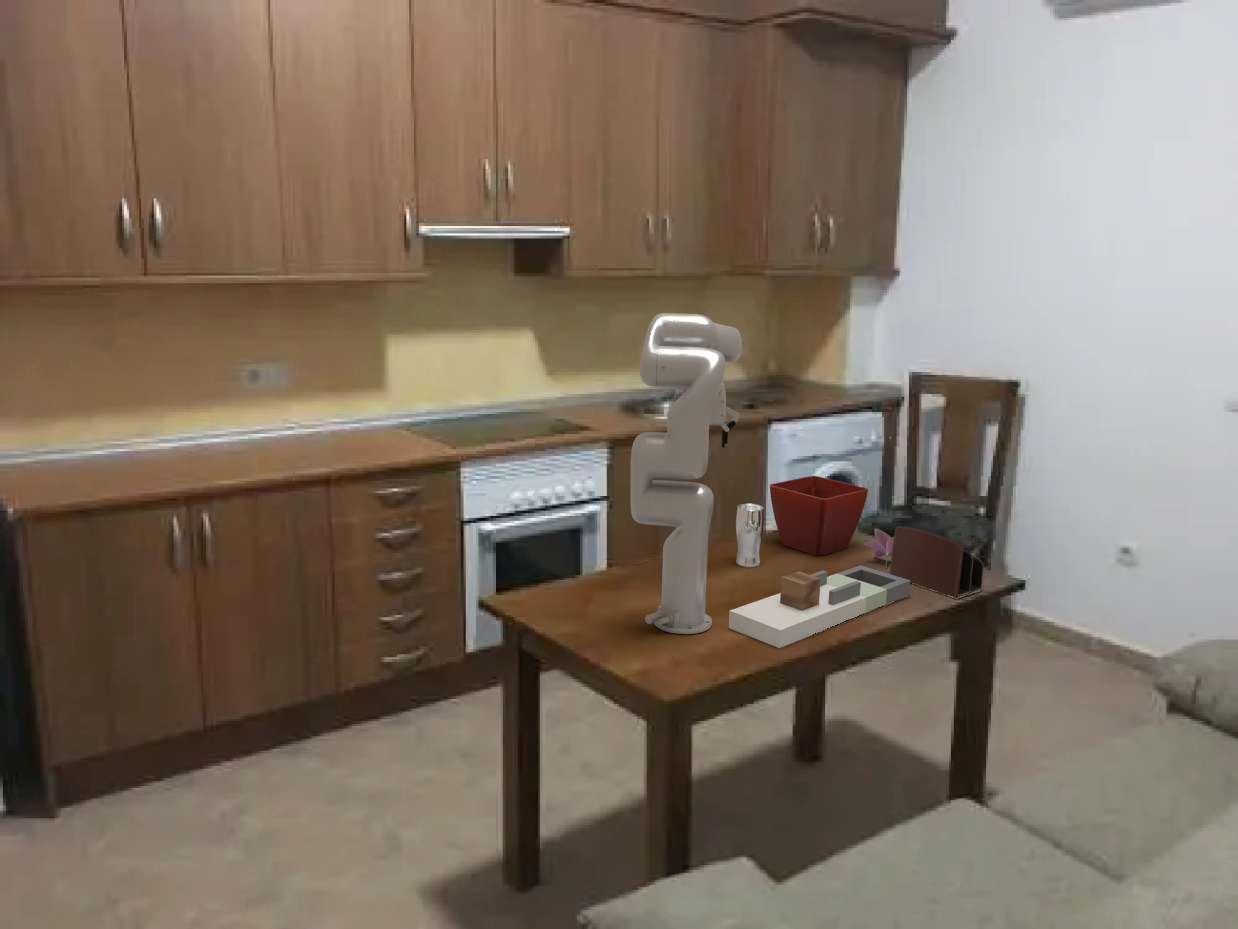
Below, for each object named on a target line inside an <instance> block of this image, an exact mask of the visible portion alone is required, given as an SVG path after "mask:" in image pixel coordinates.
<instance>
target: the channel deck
mask: <svg viewBox="0 0 1238 929" xmlns="http://www.w3.org/2000/svg"><path fill="white" fill-rule="evenodd" d="M810 575H811V576H815V577H818V578H821V582H820V597H819V605H816V606H814V607H811V608H808V609H805V610H803V611H801V610H798V609H795V608H792V607H790V606H787V605H784V604H781V603H780V594H781V592H780V593H776V594H774V595H771V596H768V597H765V598H762V599H759V600H757V601H753V602H750V603H747V604H745V605H742V606H739V607H737V608H733V609H730V610H729V612H728V613H729V615H728V629H730V630H732V631H735V632H737V633H739V634H743V635H745V636H747V637H749V638H752V639H755V640H758V641H760V642H762V643H765V644H768V645H770V646H773V647H776V648H778V649H781V648H783V647H784V648H785V647H786V646H789V645H792V644H793V643H796V642H798V641H802V640H804V639H806V638H808V637H811V636H813V634H814V635H816V634H819V633H821V632H824V631H826V630H828V629H827V628H829V629H831V628H830V627H832V626H834V627H836V626H835V625H837V624H839V625H841V624H840V623H842V622H844V621H846V620H848V619H852V618H854V617H857V616H859V615H861V614H863V613H867V612H869V611H871V610H873V609H875V608H877V607H881V606H883V605H885V604H887V603H890V602H892V601H896V600H899V599H901V598H903V597H905V596H908V595H909V596H910V592H911V591H910V589H911V583H910V580H907V579H904V578H901V577H897V576H894V575H891V574H890V573H887V572H883V571H880V570H877V569H874V568H871V567H867V566H864V565H857V566H855V567H852V568H849V569H846V570H843V571H841V572H837V573H834V574H832V575H829V576H828V571H826V570H820V571H817V572H815V573H812V574H810ZM899 601H900V600H899ZM869 613H870V612H869ZM867 614H868V613H867ZM859 617H860V616H859ZM857 618H858V617H857ZM854 619H855V618H854ZM852 620H853V619H852ZM844 623H845V622H844ZM842 624H843V623H842ZM837 626H838V625H837ZM832 628H833V627H832ZM825 629H826V630H825ZM823 630H824V631H823ZM818 632H819V633H818ZM815 633H816V634H815Z"/></svg>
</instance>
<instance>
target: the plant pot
mask: <svg viewBox="0 0 1238 929" xmlns="http://www.w3.org/2000/svg"><path fill="white" fill-rule="evenodd" d="M769 492H770V500H771V506H772V512H773V517H774V521H775V525H776V529H777V532H778V534H779V538H780V541H781V543H782V546H786V547H789V548H793V549H795V550H798V551H801V552H805V553H808V554H810V555H814V556H823V555H826V554H829V553H834V552H837V551H841V550H844V549H847V548H848V546H849V545H850V543H851V540H852V538H853V536H854V534H855V532H856V529H857V527H858V524H859V522H860V519H861V516H862V514H863V511H864V508H865V504H866V501H867V497H868V493H869V488H867V487H863V486H859V485H855V484H852V483H849V482H843V481H841V480H840V481H839V480H835V479H831V478H827V477H822V476H818V475H809V476H804V477H799V478H795V479H789V480H784V481H780V482H776V483H775V482H774V483H771V484H769Z"/></svg>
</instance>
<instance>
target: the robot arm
mask: <svg viewBox="0 0 1238 929" xmlns="http://www.w3.org/2000/svg"><path fill="white" fill-rule="evenodd" d="M742 349H743V340H742V336H741V332H740V331H739V329H738V328H736V327H733V326H728V325H724V324H721V323H716V322H714V321H713V320H712V319H711V318H710V317H708V316H705V315H703V314H699V313H676V312H673V313H671V312H661V313H658V314H656V315H655V316H654V317H653V318H652V319H651V321H650V323H649V325H648V328H647V331H646V334H645V337H644V343H643V347H642V351H641V357H640V360H639V375H640V378H641V380H642V382H643V383H644V384H645V385H646V386H649V387H652V388H653V387H655V388H671V389H675V388H676V389H686V390H685V392H684V393H682V394H681V395H680V396H679V397H678V398H677V399H676V400H675V401H674V402H673V403H672V405H671V406H670V407H669V410H668V412H667V430H666V431H667V432H657V431H655V432H653V431H647V432H646V431H645V432H641V433H639V434H638V435H637V436H636V437H635V439H634V441H633V443H632V447H631V453H630V513H631V517H632V519H633V520H634V521H635V522H636V523H638V524H641V525H642V524H643V525H650V526H663V527H664V526H665V527H666V526H667V527H673V528H675V529H674V530H673V531H672V532H671V533H670V534H669V535H668V537H667V538H666V539H665V540H664V544H663V547H662V548H663V549H662V571H661V572H662V573H661V576H662V577H661V578H662V579H661V601H660V602H661V603H660V604H659V605H657V610H656V611H655V613H650V614H646V615H645V617H644V619H645V620H644V621H645V622H646V624H648V625H651V624H654V626H656V627H657V628H658V629H660V631H663V632H666V633H671V634H679V635H693V634H701V633H703V632H706V631H707V630H709V629H710V628H711V627H712V626H713V624H712V623H713V620H712V617H711V616H710V615H709V614H707V613H706V595H707V572H708V571H707V570H708V546H709V535H710V534H709V533H710V528H711V521H712V517H713V512H714V503H715V498H714V493H713V491H712V490H711V489H710V487H709V486H707V485H706V484H703V483H699V482H695V481H681V480H696V479H700V478H702V477H703V476H704V475H705V474H706V472H707V469H708V463H709V461H708V460H709V441H710V439H709V438H710V437H709V436H710V426H711V425H713V426H720V427H721V428H722V431H721V448H723V449H724V448H725V447H726V446H725V445H727V444H728V441H729V440H728V436H729V431H730V430H731V429H733V428H734V427H735V426H736V424H737V422H738V421H739V419H740V417H741V414H740V412H737V411H736V410H734V409H732V408H730V407H729V406H727V398H726V397H727V394H726V386H725V384H724V378H725V374H726V363H736V362H737V361H738V360H739V358H740V357H741V353H742ZM727 414H729V415H730V416H732V419H731V420H730V421H729V422H728V423H727V422H726V417H727V416H726V415H727ZM661 479H662V480H661ZM663 479H668V480H663ZM679 480H680V481H679Z"/></svg>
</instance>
